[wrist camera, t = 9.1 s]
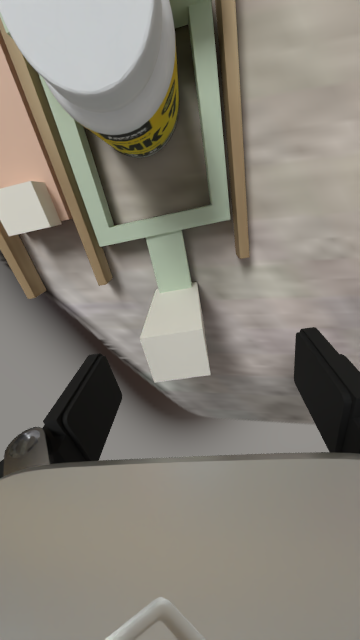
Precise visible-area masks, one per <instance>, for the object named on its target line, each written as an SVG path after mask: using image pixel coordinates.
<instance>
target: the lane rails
mask: <svg viewBox="0 0 360 640" xmlns="http://www.w3.org/2000/svg"><path fill="white" fill-rule="evenodd" d="M215 5H216V17H217V30H218V42H219V54H220V66H221V78H222V91H223V103H224V115H225V127H226V139H227V151H228V164H229V176H230V188H231V200H232V212H233V224H234V237H235V249H236V255H237V256H238V257H239V258H240V259H242V258H248V257H249V241H248V223H247V205H246V187H245V168H244V150H243V132H242V114H241V96H240V78H239V60H238V41H237V23H236V5H235V0H215ZM0 31H1V34H2V36H3V39H4V41H5V44H6V46H7V49H8V52H9V54H10V57H11V59H12V62H13V65H14V67H15V70H16V72H17V75H18V78H19V80H20V83H21V85H22V88H23V90H24V93H25V96H26V98H27V101H28V103H29V106H30V109H31V111H32V114H33V116H34V119H35V122H36V124H37V127H38V129H39V132H40V135H41V137H42V140H43V142H44V145H45V147H46V150H47V153H48V155H49V158H50V160H51V163H52V166H53V168H54V171H55V173H56V176H57V179H58V181H59V184H60V186H61V189H62V192H63V194H64V197H65V199H66V202H67V204H68V207H69V210H70V212H71V215H72V217H73V220H74V223H75V225H76V228H77V230H78V233H79V236H80V238H81V241H82V243H83V246H84V248H85V251H86V254H87V256H88V259H89V261H90V264H91V267H92V269H93V272H94V274H95V277H96V280H97V282H98V285H99V286H100V285H105V284H107V283H108V282H109V281H110V280H111V279H112V278H113V277H112V274H111V271H110V268H109V265H108V262H107V260H106V257H105V254H104V251H103V248H102V247H100V246H99V243H98V240H97V238H96V235H95V232H94V229H93V226H92V223H91V221H90V218H89V215H88V212H87V209H86V207H85V204H84V201H83V198H82V195H81V192H80V190H79V187H78V184H77V181H76V178H75V175H74V173H73V170H72V167H71V164H70V161H69V159H68V156H67V153H66V150H65V147H64V144H63V142H62V139H61V136H60V133H59V130H58V127H57V125H56V122H55V119H54V116H53V113H52V111H51V108H50V105H49V102H48V99H47V96H46V94H45V91H44V88H43V85H42V82H41V79H40V77H39V74H38V72H37V71H36V70H35V69H34V68H33V67H32V66H31V65H30V64H29V62H28V61H27V60H26V58H25V57H24V56H23V54H22V53H21V51H20V50H19V48H18V47H17V45H16V43H15V42H14V40H13V39H12V38H11V37H10V36H9V35H8V34H7V33H6V31H5V28H4V26H3V23H2V20H1V18H0ZM0 249H1V251H2V253H3V255H4V257H5V258H6V260H7V262H8V264H9V265H10V267H11V269H12V271H13V273H14V274H15V276H16V278H17V280H18V282H19V283H20V285H21V287H22V289H23V291H24V292H25V294H26V296H27V298H28V299H31V298H35V297H37V296H39V295H40V294H42V293H43V292H45V291H46V288H45V286H44V284H43V283H42V281H41V279H40V277H39V275H38V273H37V271H36V269H35V267H34V265H33V263H32V261H31V259H30V257H29V255H28V253H27V251H26V249H25V247H24V245H23V243H22V241H21V239H20V237H19V235H18V234H17V235H13V236H8V234H7V232H6V230H5V228H4V226H3V224H2V223H1V221H0Z"/></svg>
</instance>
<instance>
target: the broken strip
mask: <svg viewBox="0 0 360 640" xmlns="http://www.w3.org/2000/svg"><path fill="white" fill-rule="evenodd" d="M69 219H73V217H72V215H71V212H70V210H69V207H68V204H67V202H66V199H65V197H64V194H63V192H62V189H61V186H60V184H59V181H58V179H57V176H56V173H55V171H54V168H53V166H52V163H51V160H50V158H49V155H48V153H47V150H46V147H45V145H44V142H43V140H42V137H41V135H40V132H39V129H38V127H37V124H36V122H35V119H34V116H33V114H32V111H31V109H30V106H29V103H28V101H27V98H26V96H25V93H24V90H23V88H22V85H21V83H20V80H19V78H18V75H17V72H16V70H15V67H14V65H13V62H12V59H11V57H10V54H9V52H8V49H7V46H6V44H5V41H4V39H3V36H2V34H1V31H0V221H1V223H2V224H3V226H4V228H5V230H6V232H7V234H8V236H13V235H17V234H22V233H26V232H31V231H35V230H40V229H44V228H48V227H53V226H57V225H62V224H61V221H65V220H69Z"/></svg>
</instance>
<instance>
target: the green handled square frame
mask: <svg viewBox="0 0 360 640" xmlns="http://www.w3.org/2000/svg"><path fill="white" fill-rule="evenodd" d="M169 2H170V5H171V10H172V15H173V21H174V29H175V28H178V27H181V26H185V25H188V26H189V34H190V42H191V50H192V58H193V67H194V75H195V83H196V91H197V99H198V108H199V116H200V124H201V132H202V140H203V149H204V157H205V165H206V173H207V181H208V190H209V198H210V205H207V206H202V207H198V208H193V209H189V210H184V211H180V212H175V213H170V214H166V215H161V216H157V217H152V218H148V219H143V220H139V221H134V222H129V223H125V224H120V225H116V226H114V224H113V220H112V217H111V214H110V211H109V208H108V204H107V201H106V198H105V195H104V192H103V188H102V185H101V182H100V179H99V175H98V172H97V169H96V166H95V163H94V159H93V156H92V153H91V150H90V147H89V143H88V140H87V137H86V134H85V131H84V127H83V126H82V125H81V124H79V123H78V122H77V121H76V120H75V119H73V118H72V117H71V116H70V115H69V114H68V113H67V112H66V111H65V110H64V109H63V107H62V106H61V105H60V104H59V102H58V101H57V100H56V98H55V97H54V95H53V94H52V92H51V91H50V89H49V87H48V86H47V84H46V82H45V80H44V78H43V77H42V76H41V75H39V77H40V79H41V82H42V85H43V88H44V91H45V94H46V96H47V99H48V102H49V105H50V108H51V111H52V113H53V116H54V119H55V122H56V125H57V127H58V130H59V133H60V136H61V139H62V142H63V144H64V147H65V150H66V153H67V156H68V159H69V161H70V164H71V167H72V170H73V173H74V175H75V178H76V181H77V184H78V187H79V190H80V192H81V195H82V198H83V201H84V204H85V207H86V209H87V212H88V215H89V218H90V221H91V223H92V226H93V229H94V232H95V235H96V238H97V240H98V243H99V246H100V247H102V246H107V245H112V244H116V243H121V242H126V241H131V240H135V239H140V238H146V242H147V245H148V249H149V253H150V257H151V261H152V265H153V269H154V273H155V276H156V280H157V284H158V288H159V289H156V291H155V294H154V297H153V300H152V303H151V306H150V309H149V312H148V315H147V318H146V321H145V324H144V327H143V331H142V334H141V337H140V341H141V344H142V347H143V350H144V353H145V356H146V359H147V362H148V365H149V368H150V371H151V374H152V377H153V380H154V382H162V381H169V380H177V379H184V378H192V377H199V376H207V375H211V374H210V366H209V359H208V351H207V344H206V336H205V329H204V322H203V315H202V309H201V303H200V297H199V291H198V285H197V282H194V283H192V282H191V276H190V271H189V265H188V260H187V254H186V249H185V243H184V238H183V232H182V230H183V229H188V228H192V227H197V226H202V225H207V224H212V223H216V222H221V221H226V220H230V210H229V198H228V187H227V175H226V164H225V152H224V141H223V129H222V118H221V107H220V95H219V84H218V72H217V61H216V49H215V38H214V26H213V15H212V4H211V0H169ZM0 18H1V20H2V23H3V26H4V28H5V31H6V33H7V34H8V35H9V36H10V37H11V38H12V36H11V34H10V33H9V31H8V28H7V26H6V24H5V22H4V20H3V17H2V15H1V12H0ZM12 39H13V38H12ZM38 74H39V73H38Z"/></svg>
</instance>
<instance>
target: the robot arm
mask: <svg viewBox="0 0 360 640" xmlns="http://www.w3.org/2000/svg"><path fill="white" fill-rule="evenodd" d="M294 381H295V384H296V386H297V388H298V390H299V392H300V394H301V396H302V398H303V400H304V402H305V404H306V406H307V408H308V410H309V412H310V414H311V416H312V418H313V420H314V422H315V424H316V426H317V428H318V430H319V432H320V434H321V436H322V438H323V440H324V442H325V444H326V446H327V448H328V450H329V453H328V452H327V453H326V452H321V453H274V454H247V455H219V456H193V457H171V458H170V457H169V458H145V459H125V460H103V461H98V460H99V458H100V455H101V453H102V450H103V447H104V445H105V442H106V439H107V437H108V434H109V432H110V429H111V426H112V424H113V421H114V418H115V416H116V413H117V410H118V408H119V405H120V403H121V400H122V393H121V391H120V388H119V386H118V384H117V382H116V379H115V377H114V375H113V372H112V370H111V368H110V365H109V363H108V361H107V359H106V357H105V356H103V355H102V354H93V355H89V356H88V357H87V358H86V360H85V361H84V363H83V364H82V366H81V367H80V369H79V370H78V372H77V373H76V374H75V376H74V377H73V379H72V380H71V382H70V383H69V384H68V386H67V387H66V389H65V390H64V392H63V393H62V395H61V396H60V398H59V399H58V400H57V402H56V404H55V405H54V406H53V408H52V409H51V411H50V412H49V413H48V415H47V416H46V418H45V419H44V421H43V422H44V424H45V425H44V427H43V428H40V427H33V428H30V429H28V430H25V431H24V432H22V433H21V434H19V435H18V436H17V437H16V438H14V439H13V440H12V442H11V443H10V444H9V445H8V447H7V448H6V450H5V454H4V459H3V460H2V461H1V462H0V640H360V372H359V371H358V370H357V369H356V367H355V366H354V365H353V364H352V363H351V362H350V361H349V360H348V359H347V357H345V356H344V355H342V354H339V353H338V352H337V351H336V350H335V349H334V348H333V347H332V345H331V344H330V343H329V342H328V341H327V340H326V339H325V337H324V336H323V335H322V334H321V333H320V332H319V331H318V329H317V328H315V327H313V328H305V329H301V330H300V332H299V333H296V345H295V366H294Z"/></svg>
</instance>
